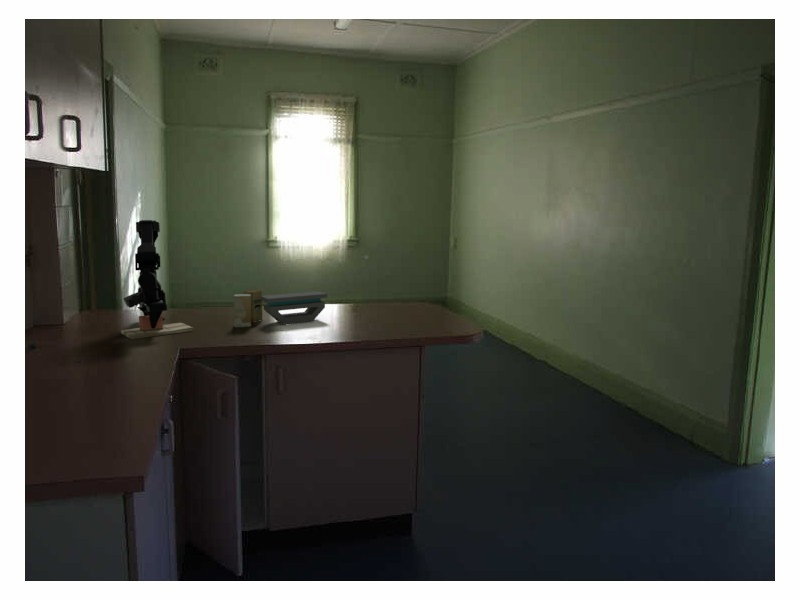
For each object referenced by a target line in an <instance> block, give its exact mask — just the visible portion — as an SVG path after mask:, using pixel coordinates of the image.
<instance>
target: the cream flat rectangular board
mask: <svg viewBox="0 0 800 600" xmlns="http://www.w3.org/2000/svg"><path fill="white" fill-rule="evenodd" d="M193 331H194V327H193V326H190V325H188V324H185V323H184V322H174V323H166V324H163V329H160V330H152V331H145V332H143V331H141V330H140V327H133V328H128V329H127V328H126V329H121V330H120V333H121V335H123V336H125V337H126V338H129V339H130V340H136V339H144V338H151V337H157V336H164V335H174V334H180V333H187V332H193Z"/></svg>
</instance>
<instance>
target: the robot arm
mask: <svg viewBox="0 0 800 600" xmlns="http://www.w3.org/2000/svg"><path fill="white" fill-rule="evenodd" d="M160 226H161V225H160V222H159V221H157V220H152V219H141V220H139V221H135V231H136V233H138V238H139V239H140V245H139V246H137V248H136V253H134V256H135V257H134V260H135V261H134V262H135V263H134V264H135V265H134V266H135V271H139V275H138V278H137V283H138V285H139V286H140V287H138V288H137V292H135V293H132V294H130V295H127V296H125V297H124V298H123V301H124V304H125V305H126V307H127V308H134V307H137V306H138V307H137V309H138V310H139V311H141V312H142V315H143V316H146V315H149V319H150V323H151V327H152V328H155V327H156V325H157V322H158V320H159V318H160V315H162V314H163V312H164V311H168V304H167V298H166V292H165V291H164V289H162V284H161V283H160V281H159V280H158V277H157V275H158V274H157V271H159V269H160V268H161V255H160V254H159V252H157V247H156V244H155V243H156V241H157V240H158V238H159V233H160V232H161V229H160V228H161V227H160ZM163 320H165V317H163V316H162V321H163Z"/></svg>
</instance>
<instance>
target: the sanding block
mask: <svg viewBox="0 0 800 600" xmlns="http://www.w3.org/2000/svg"><path fill="white" fill-rule="evenodd" d="M162 317H163V315H162V314H161V315H160V318H159V320H158V322H157V325H156V327H155V328H152V327H151V323H150V319H149V315H146V316H144V315H139V316H138V326H139V327H138V328H140V330H141V331H143V332H145V331H152V330H160V329H163V325H164V321H163V320H162Z"/></svg>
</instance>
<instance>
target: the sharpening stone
mask: <svg viewBox="0 0 800 600" xmlns="http://www.w3.org/2000/svg"><path fill="white" fill-rule="evenodd" d="M325 298H326V299H327V298H328V293H326V292H322V291H319V290H318V291H306V292H293V293H282V294H281V293H280V294H269V295H262V296H261V300H262V302H264V303H263V310H264V311H265V312H266V313H268V315H269V316H271V317H272V318H273V319H274V320H276V322H278V323H280V324H282V325H284V326H287V325H286V324H290V325H297V324H298V323H299V324H307V323H313V322H314V321H315V319H317V317H318V316H320V315H321V313H322V311H323V310H324V309H325V308H326V301H322V300H321V299H325ZM299 309H305V311H302V312H293V313H281V312H280V311H289V310H299Z"/></svg>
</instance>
